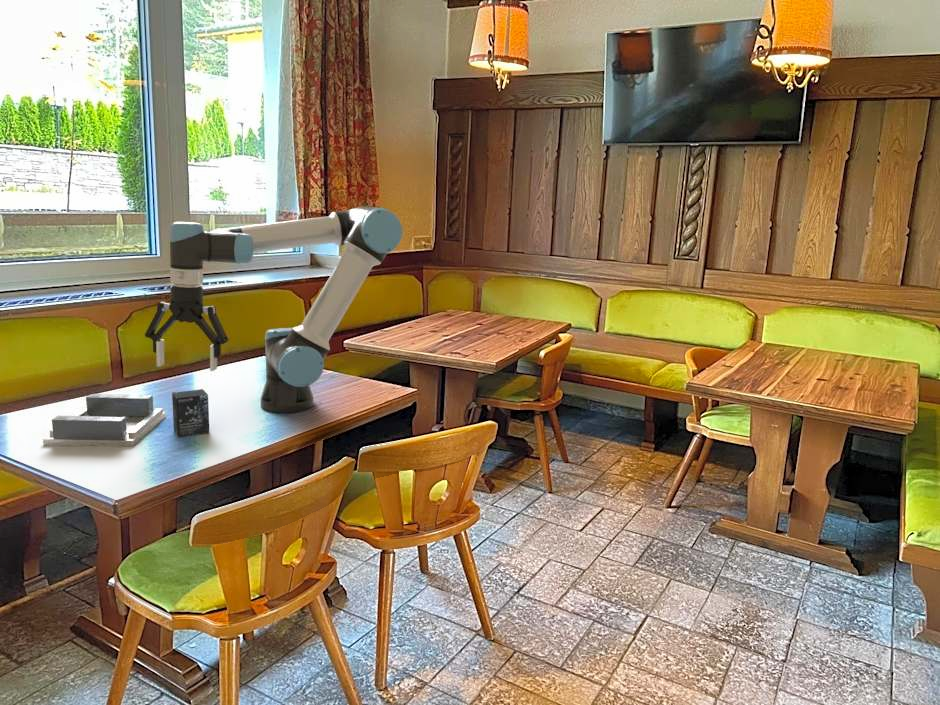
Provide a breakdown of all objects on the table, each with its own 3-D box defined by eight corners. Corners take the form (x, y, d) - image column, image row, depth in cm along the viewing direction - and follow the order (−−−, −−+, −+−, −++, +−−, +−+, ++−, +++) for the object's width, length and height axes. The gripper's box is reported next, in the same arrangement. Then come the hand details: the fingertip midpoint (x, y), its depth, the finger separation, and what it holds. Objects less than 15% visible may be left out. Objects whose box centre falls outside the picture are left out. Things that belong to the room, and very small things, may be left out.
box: (178, 437, 178) (175, 398, 175) (173, 431, 182) (171, 392, 180) (210, 433, 182) (208, 394, 180) (204, 426, 187) (203, 388, 184)
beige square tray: (165, 417, 192) (164, 394, 191) (133, 446, 171) (131, 421, 169) (86, 415, 191) (84, 392, 189) (43, 445, 169) (40, 419, 168)
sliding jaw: (153, 412, 190) (152, 395, 189) (149, 416, 187) (148, 398, 186) (92, 411, 189) (91, 393, 188) (87, 415, 186) (85, 397, 185)
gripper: (129, 282, 171) (131, 366, 175) (231, 291, 171) (230, 375, 175) (143, 279, 178) (145, 360, 183) (241, 287, 178) (240, 368, 183)
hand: (187, 367), depth 179 cm, fingers open, 13 cm apart
